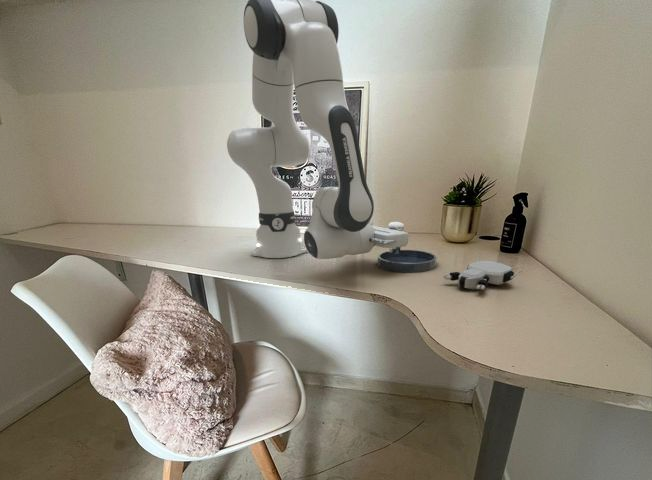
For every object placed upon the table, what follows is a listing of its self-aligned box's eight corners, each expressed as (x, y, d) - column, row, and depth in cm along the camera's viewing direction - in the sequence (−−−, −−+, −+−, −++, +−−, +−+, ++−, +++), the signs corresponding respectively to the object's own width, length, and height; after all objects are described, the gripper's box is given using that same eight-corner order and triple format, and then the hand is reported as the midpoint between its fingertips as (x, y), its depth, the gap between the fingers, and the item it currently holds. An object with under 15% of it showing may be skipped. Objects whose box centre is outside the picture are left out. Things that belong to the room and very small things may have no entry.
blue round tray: (371, 259, 108) (371, 251, 107) (421, 255, 111) (421, 248, 110) (388, 274, 92) (389, 265, 91) (446, 269, 95) (447, 261, 94)
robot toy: (481, 301, 74) (521, 284, 81) (484, 282, 72) (524, 266, 79) (439, 287, 84) (478, 272, 91) (440, 270, 82) (479, 256, 89)
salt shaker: (404, 255, 98) (407, 220, 94) (386, 254, 99) (388, 219, 95) (404, 251, 103) (407, 217, 98) (387, 250, 103) (389, 217, 99)
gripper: (383, 231, 83) (424, 225, 90) (341, 222, 99) (378, 217, 106) (383, 256, 86) (422, 248, 92) (341, 243, 102) (377, 237, 108)
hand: (398, 232), depth 99 cm, fingers closed on salt shaker, 4 cm apart
